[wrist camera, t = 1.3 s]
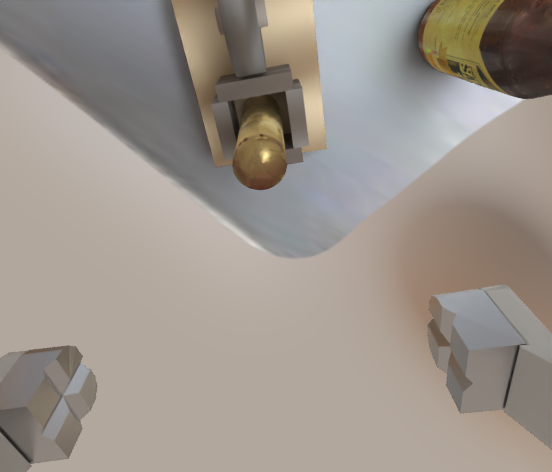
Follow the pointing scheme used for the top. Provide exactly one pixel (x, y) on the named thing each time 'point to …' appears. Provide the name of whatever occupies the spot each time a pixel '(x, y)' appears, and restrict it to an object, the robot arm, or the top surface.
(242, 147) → the pin
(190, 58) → the block
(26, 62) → the top surface
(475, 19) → the sauce bottle
